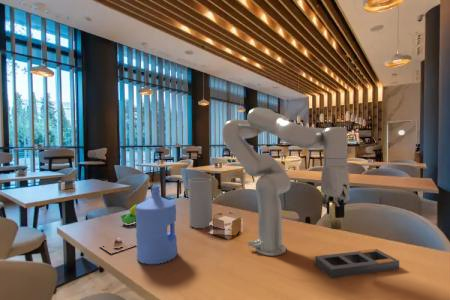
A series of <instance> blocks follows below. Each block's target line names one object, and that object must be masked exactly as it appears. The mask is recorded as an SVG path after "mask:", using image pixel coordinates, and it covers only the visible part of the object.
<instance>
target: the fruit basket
mask: <svg viewBox="0 0 450 300" xmlns="http://www.w3.org/2000/svg"><path fill="white" fill-rule="evenodd" d="M138 204H139V203H138ZM138 204H136V203H135V204H134V205H133V206H132V207H130V209H129V212H130V213H126V214H123V215H120V219H121V221H122V223H123V222H124V223H127V224H130V223H133V222H136V206H137V205H138Z"/></svg>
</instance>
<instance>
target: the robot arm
mask: <svg viewBox="0 0 450 300" xmlns="http://www.w3.org/2000/svg"><path fill="white" fill-rule="evenodd" d="M246 117H247V118H246V119H240V118H239V119H238V118H237V119H235V118H234V119H231V120H228V121H227V122H226V123H224V125H223V127H222V139H223V142H224V144H225V146H226V147H227V149H228V150H229V151H230V152H231V154H232V155H233V156H234V157H235V158H236V160H237V161H238V163H239V164H240V166H241V167H242V168H243V169H244V171H245V172H246V173H247V175H249V176H250V177H253V178H254V177H256V178H257V177H259V178H258V179H257V180H256V182H255V193H256V196H257V207H258V237H256V239H255V240H248V241H247V246H248V247H252V248H254V250H255V251H256V252H257V253H259V254H260V255H262V256H263V255H264V256H269V257H270V256H271V257H273V256H274V257H276V256H281V255H283V254H285V253H286V251H287V247H286V245H284V244H283V223H282V222H283V221H282V220H283V218H282V217H283V216H282V215H283V214H282V202H281V199H280V195H283V194H285V193H287V192H288V191H290V189H291V185H292V181H291V178H290V176H289V174H288V173H287V172H286V171H285V170H284V169H283V167H282V166H281V165H280V164H279V163H278V162H277V160H276V159H275V158H274V157H273V156H272V155H270V154H267V153H266V154H265V153H261V154H260V153H258V152H256V150H255V149H254V147H252V145H251V144H250V143H248V142H247V141H246V140H245V139H251V138H254V137H256V136H258V135H260V134H262V133H264V132H266V133H269V134H271V135H273V136H275V137H277V138H279V139H280V140H281V141H284V142H286V143H288V144H291V145H293V146H295V147H298V148H301V149H307V150H308V149H310V150H311V149H319V148H323V166H322V170H321V179H320V180H321V181H320V191H321V193H322V194H323V195H324V197H325V202H326V214H327V215H329V201H332V200H335V201H336V206H335V218H342V219H343V218H345V207H346V204H347V203H348V202H349V201H351V197H350V178H349V171H348V170H349V169H348V129H347V128H346V127H344V126H334V127H333V126H331V127H326V128H321V127H313V126H312V127H310V126H305V125H303V124H298V123H296V122H293V121H291V120H289V119H288V117H287V116H286V115H285V114H280V113H277V112H274V110H272V109H269V108H265V107H253V108H252V109H250V110H249V111H248V113H247V116H246Z"/></svg>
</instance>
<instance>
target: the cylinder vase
mask: <svg viewBox="0 0 450 300" xmlns="http://www.w3.org/2000/svg"><path fill="white" fill-rule="evenodd" d="M187 182H188V183H187V184H188V186H187V187H188V188H187V189H188V219H189V220H188V221H189V223H188V224H189V227H190V226H191V227H190V228H192V227H195V228H194V229H196V228H203V229H205V228H204V227H208V226H209V223H210V222H211V221H212V222H213V192H212V190H213V189H212V178H209V177H208V178H207V177H206V178H205V177H195V178H191V179H188V181H187ZM208 228H209V227H208Z"/></svg>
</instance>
